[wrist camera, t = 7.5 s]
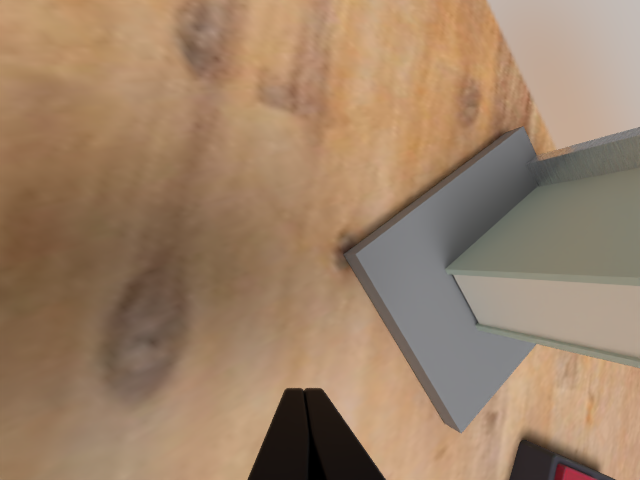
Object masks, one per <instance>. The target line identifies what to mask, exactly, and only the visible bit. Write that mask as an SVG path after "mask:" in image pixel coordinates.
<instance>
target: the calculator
mask: <svg viewBox="0 0 640 480" xmlns="http://www.w3.org/2000/svg"><path fill="white" fill-rule="evenodd" d="M509 480H615V479H613V478H611V477H609V476H607V475H604V474H602V473H600V472H598V471H595V470H593V469H591V468H588V467H586V466H584V465H582V464H579V463H577V462H575V461H572V460H570V459H568V458H566V457H563V456H561V455H559V454H556V453H554V452H552V451H550V450H547V449H545V448H543V447H541V446H538V445H536V444H534V443H531V442H529V441H527V440H522V441H521V442H520V444H519V447H518V451H517V454H516V458H515V462H514V465H513V469H512V472H511V476H510V479H509Z"/></svg>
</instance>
